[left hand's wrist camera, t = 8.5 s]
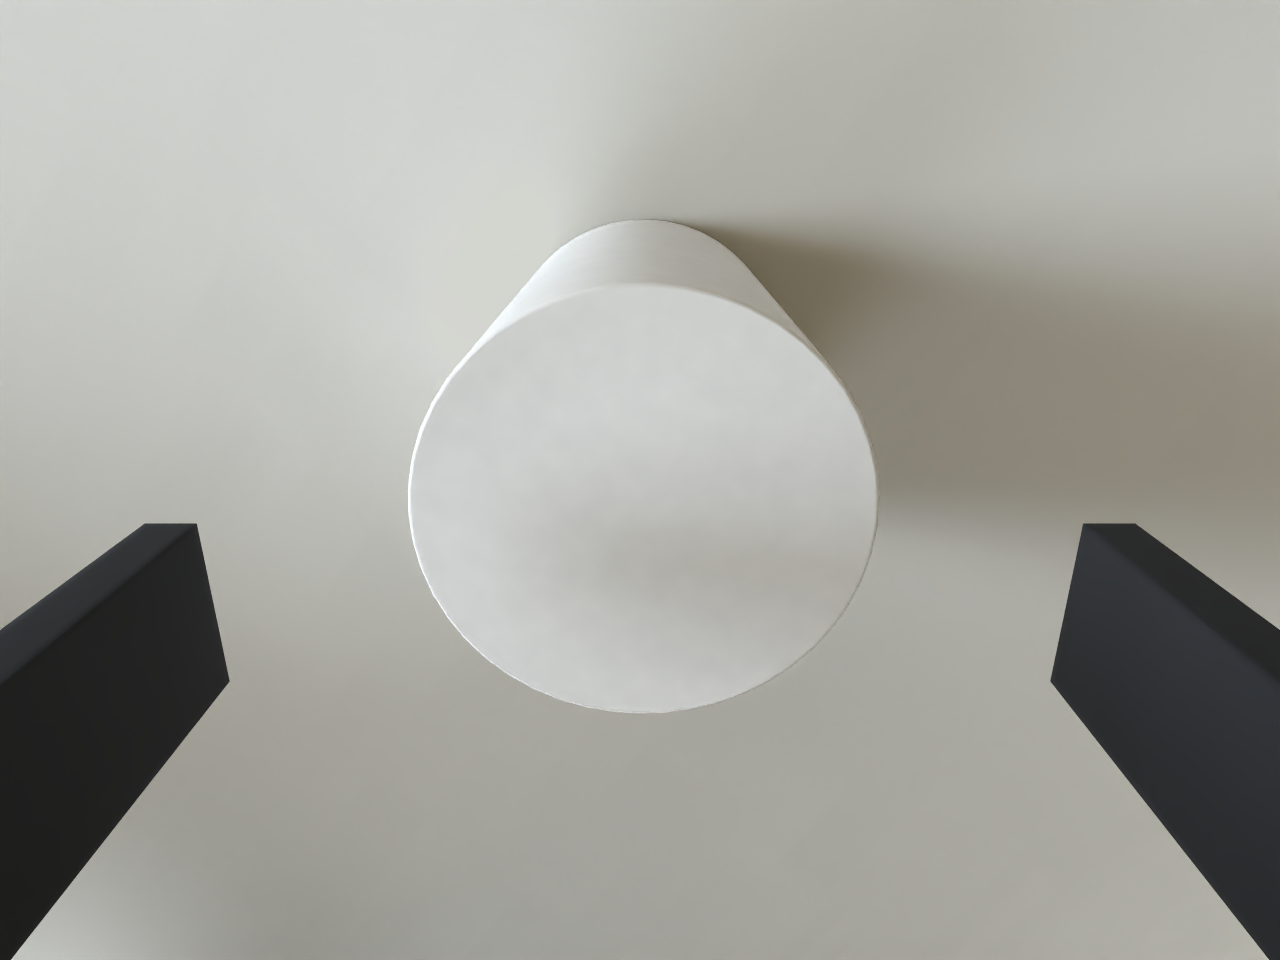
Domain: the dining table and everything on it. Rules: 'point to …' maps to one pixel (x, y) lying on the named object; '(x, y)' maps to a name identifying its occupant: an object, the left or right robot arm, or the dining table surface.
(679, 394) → the canister
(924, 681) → the dining table surface
